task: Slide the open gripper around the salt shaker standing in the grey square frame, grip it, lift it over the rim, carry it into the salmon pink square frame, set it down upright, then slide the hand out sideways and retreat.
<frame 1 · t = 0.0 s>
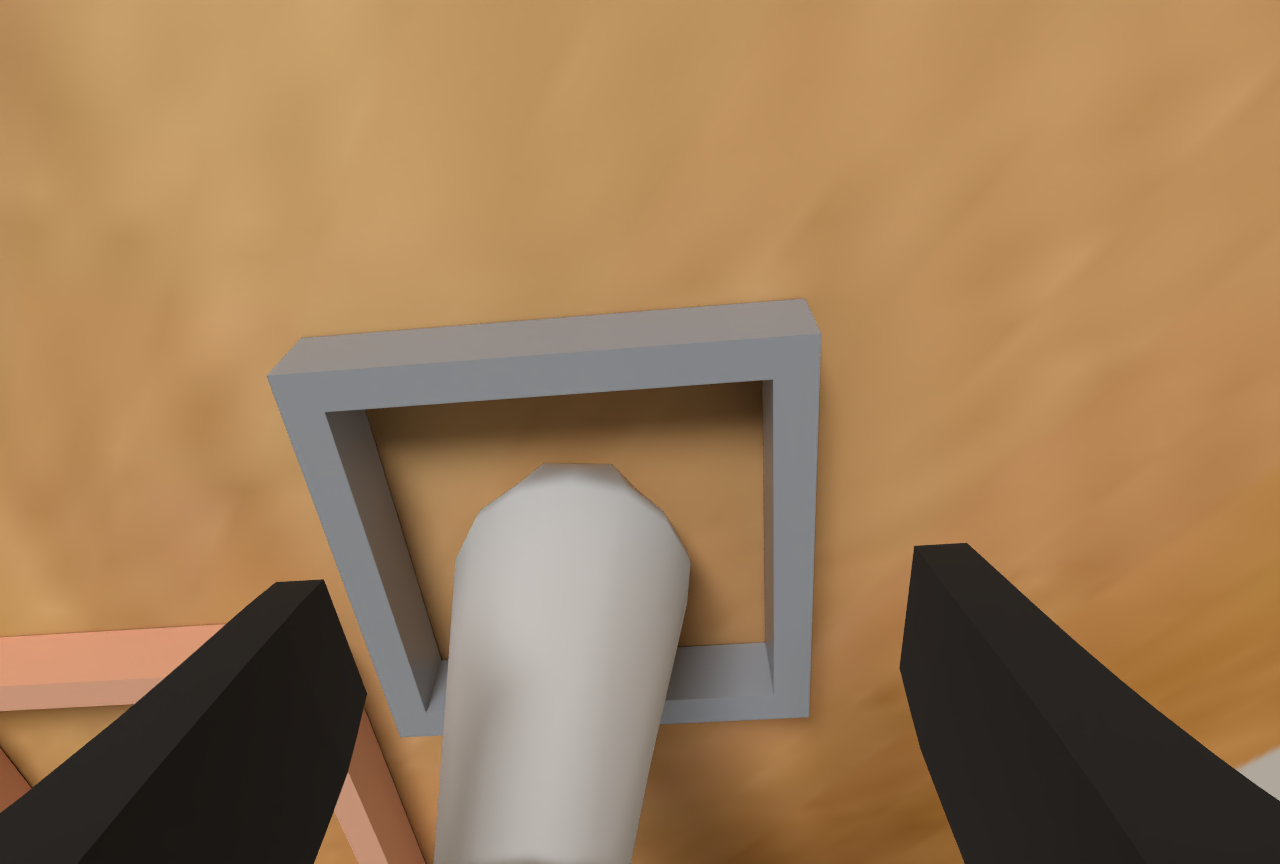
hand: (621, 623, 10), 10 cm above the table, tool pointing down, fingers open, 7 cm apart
grey square frame: (580, 521, 22), on the table
salmon pink square frame: (191, 776, 28), on the table
salt shaker: (581, 516, 22), resting in grey square frame
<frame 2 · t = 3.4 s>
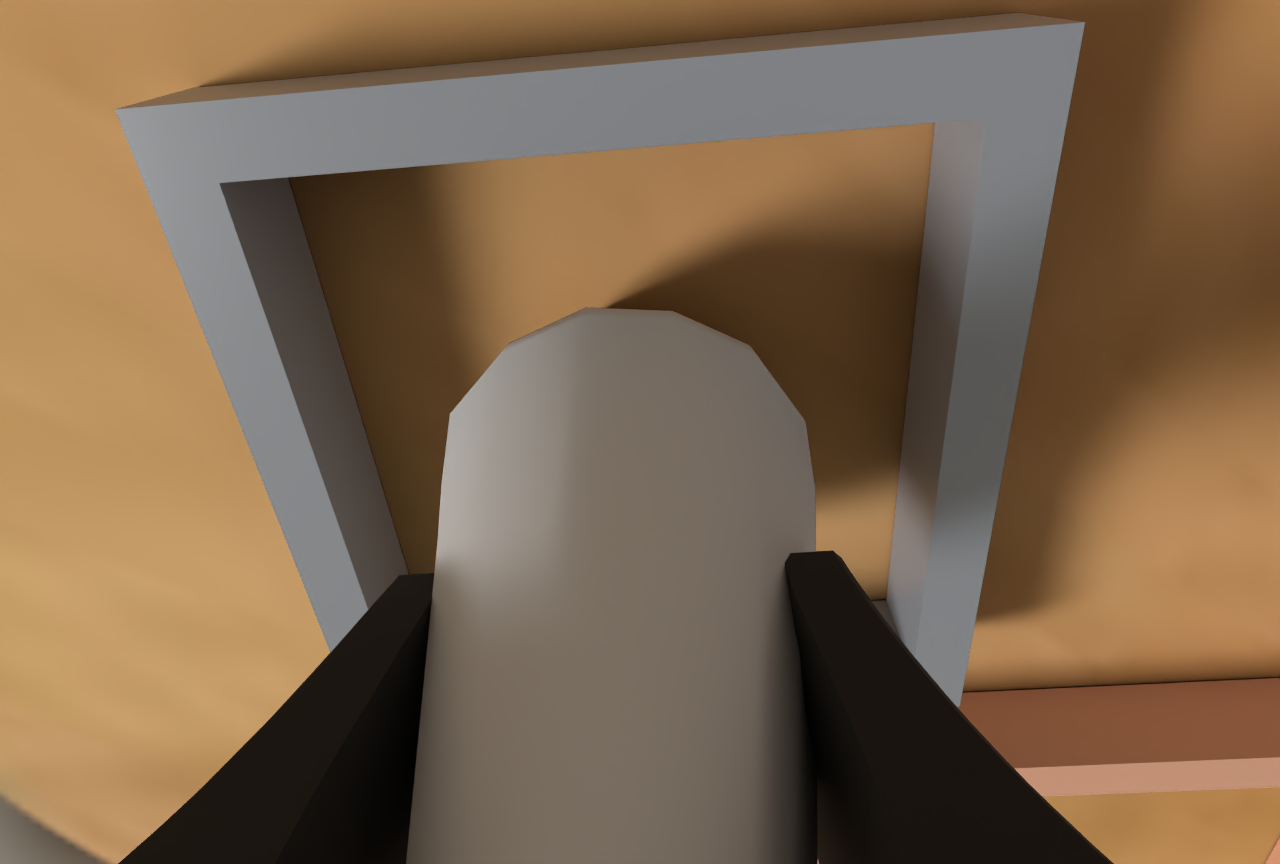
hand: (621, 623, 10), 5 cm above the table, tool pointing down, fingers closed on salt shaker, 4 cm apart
grey square frame: (631, 411, 14), on the table
salmon pink square frame: (1042, 863, 22), on the table
salt shaker: (631, 405, 15), resting in grey square frame, touching gripper
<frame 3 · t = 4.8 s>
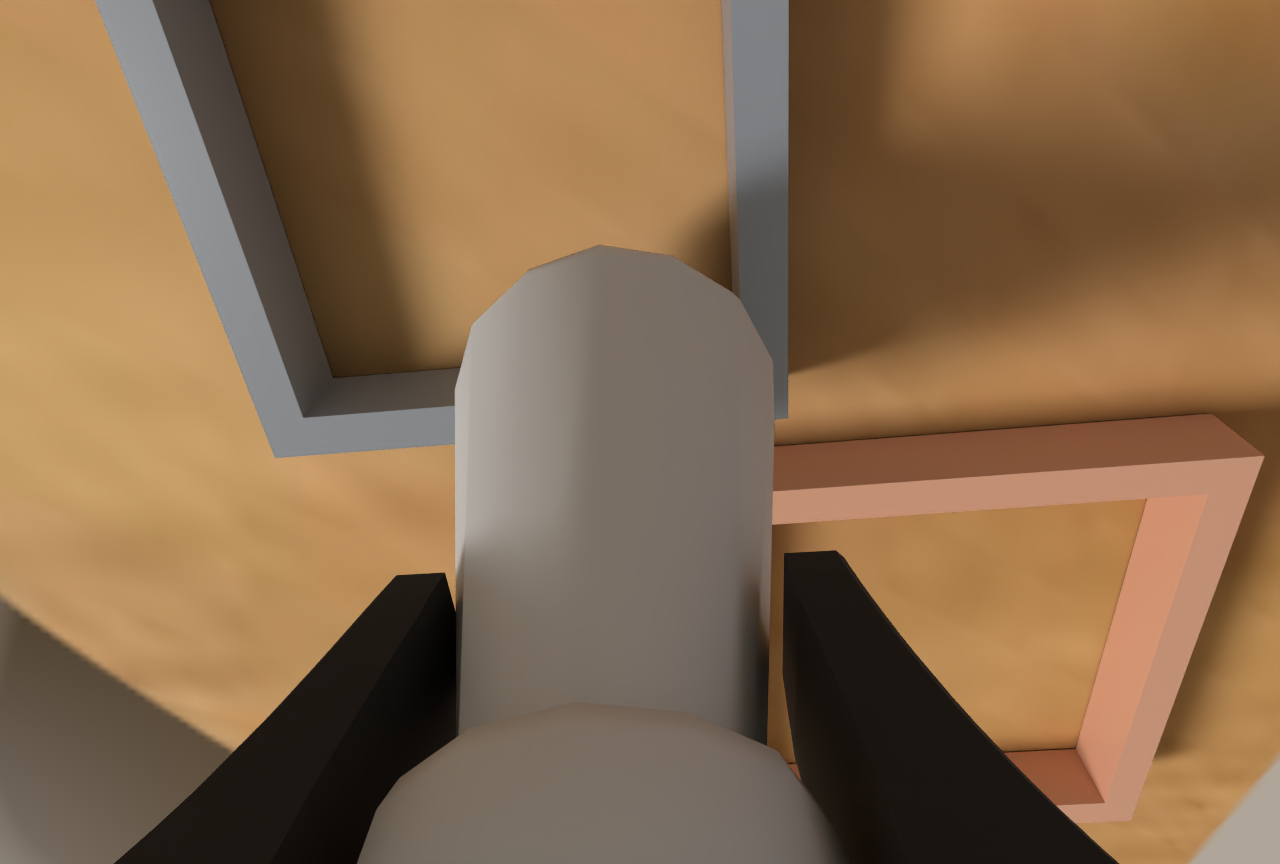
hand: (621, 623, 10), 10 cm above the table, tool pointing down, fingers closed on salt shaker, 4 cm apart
grey square frame: (492, 151, 17), on the table
salmon pink square frame: (909, 631, 24), on the table
salt shaker: (618, 346, 17), point 2 cm above the table, touching gripper
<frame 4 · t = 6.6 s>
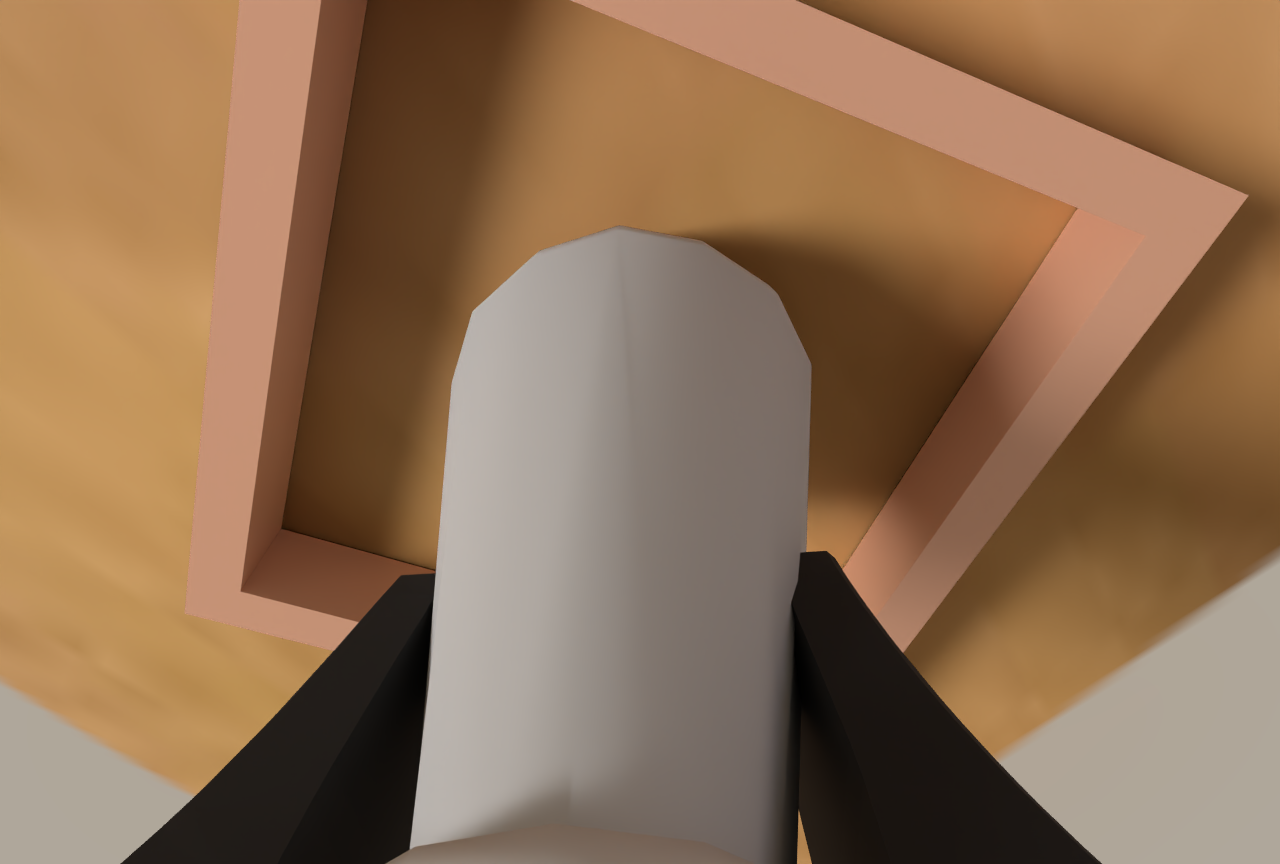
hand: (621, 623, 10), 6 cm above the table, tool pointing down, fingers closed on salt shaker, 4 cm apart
salmon pink square frame: (631, 385, 15), on the table
salt shaker: (637, 340, 15), resting in salmon pink square frame, touching gripper
when the fingers open (6 cm above the table, at t = 6.9 s): salt shaker stays where it is, resting in salmon pink square frame.
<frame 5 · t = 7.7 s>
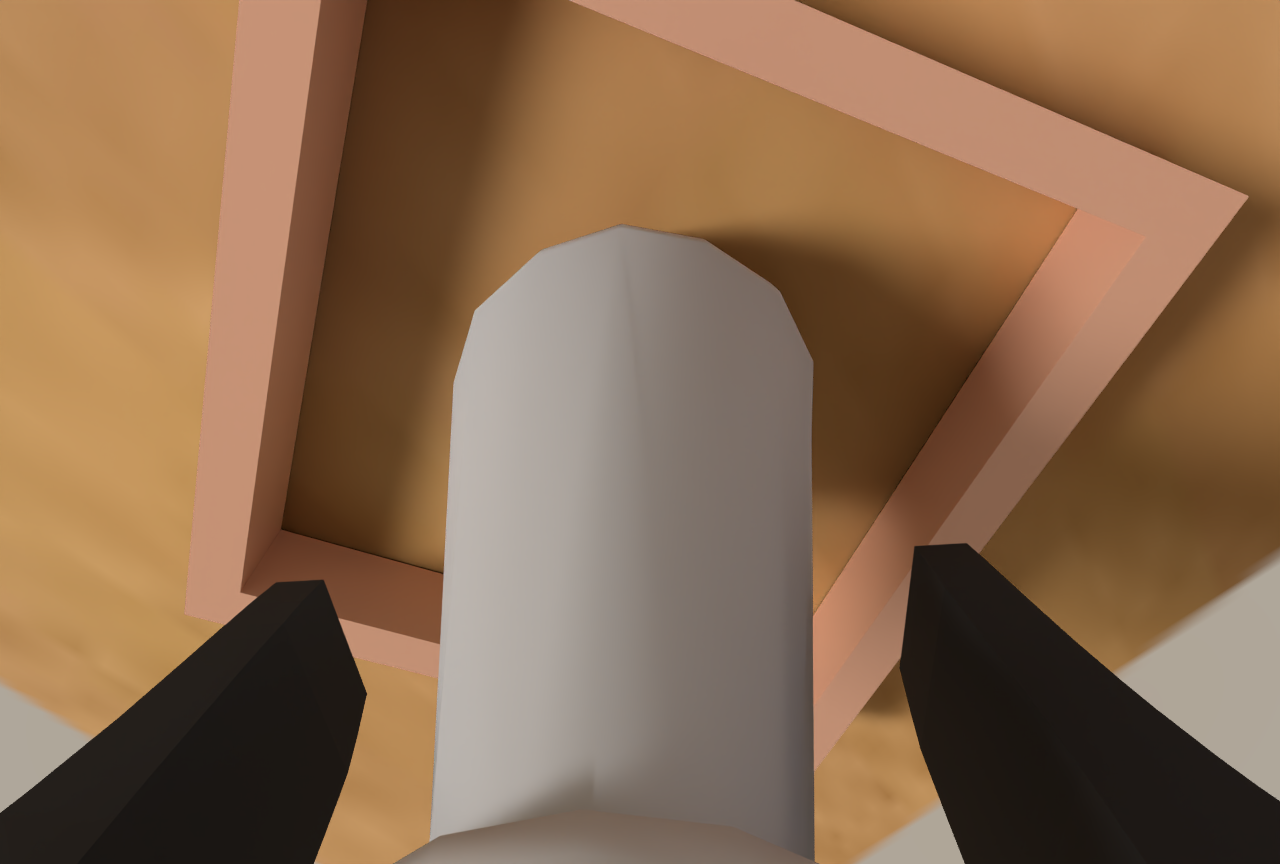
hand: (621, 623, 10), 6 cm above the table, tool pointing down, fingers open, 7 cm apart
salmon pink square frame: (631, 386, 15), on the table
salt shaker: (637, 340, 15), resting in salmon pink square frame
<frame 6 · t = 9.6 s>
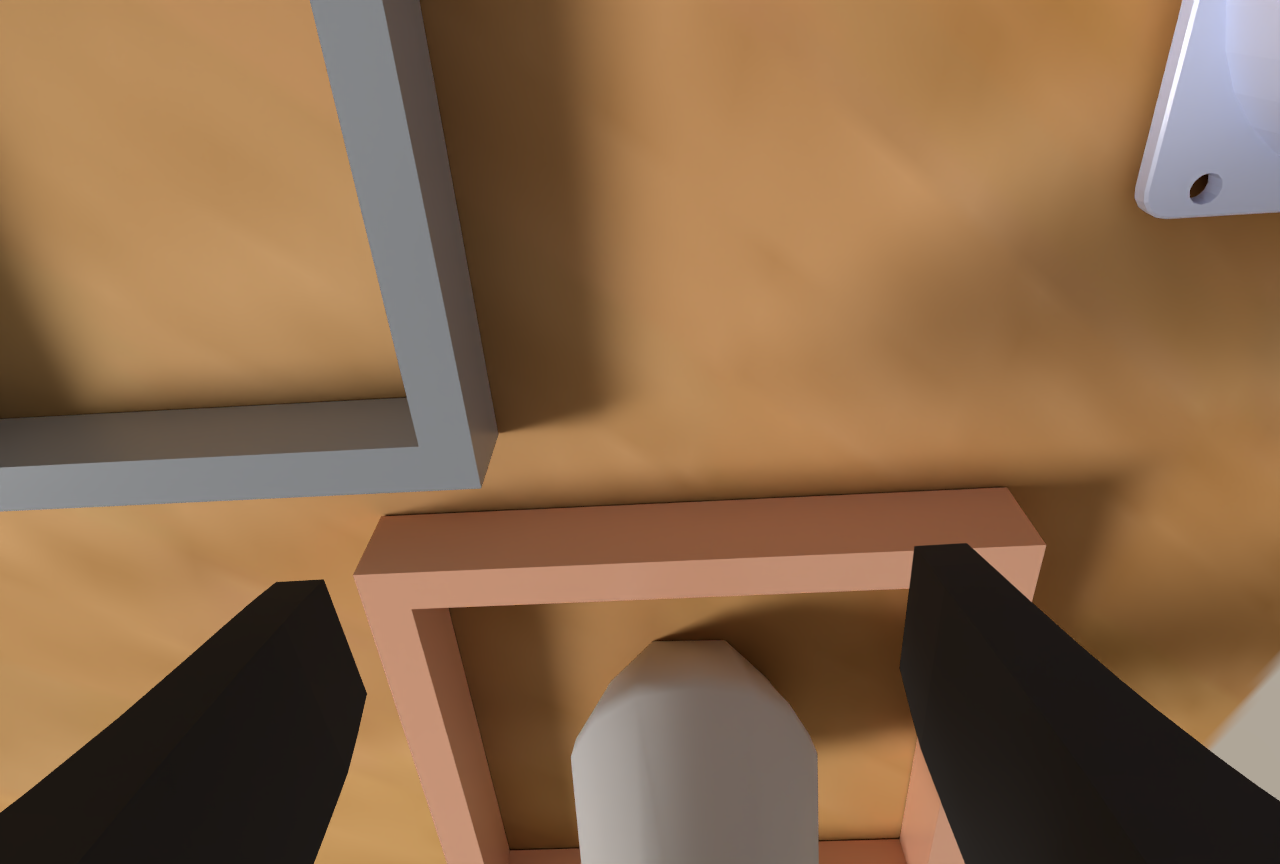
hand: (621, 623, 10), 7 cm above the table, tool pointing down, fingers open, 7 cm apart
grey square frame: (110, 161, 14), on the table
salmon pink square frame: (697, 713, 21), on the table
salt shaker: (688, 685, 21), resting in salmon pink square frame
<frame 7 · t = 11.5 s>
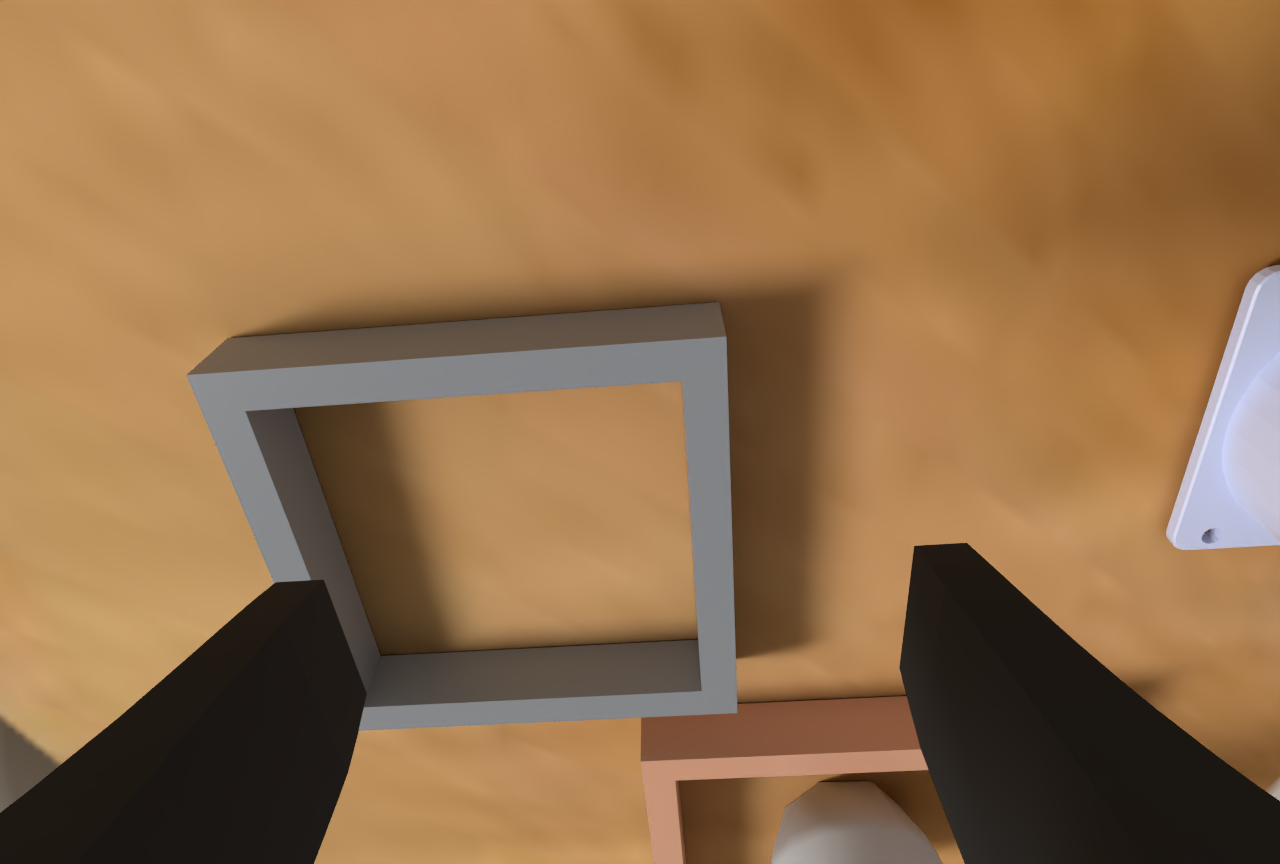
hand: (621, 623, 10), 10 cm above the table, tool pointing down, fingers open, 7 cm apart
grey square frame: (511, 519, 22), on the table
salmon pink square frame: (845, 827, 29), on the table
salt shaker: (839, 808, 29), resting in salmon pink square frame
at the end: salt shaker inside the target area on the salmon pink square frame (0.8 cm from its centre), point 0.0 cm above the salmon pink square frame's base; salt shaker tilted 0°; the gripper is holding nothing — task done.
